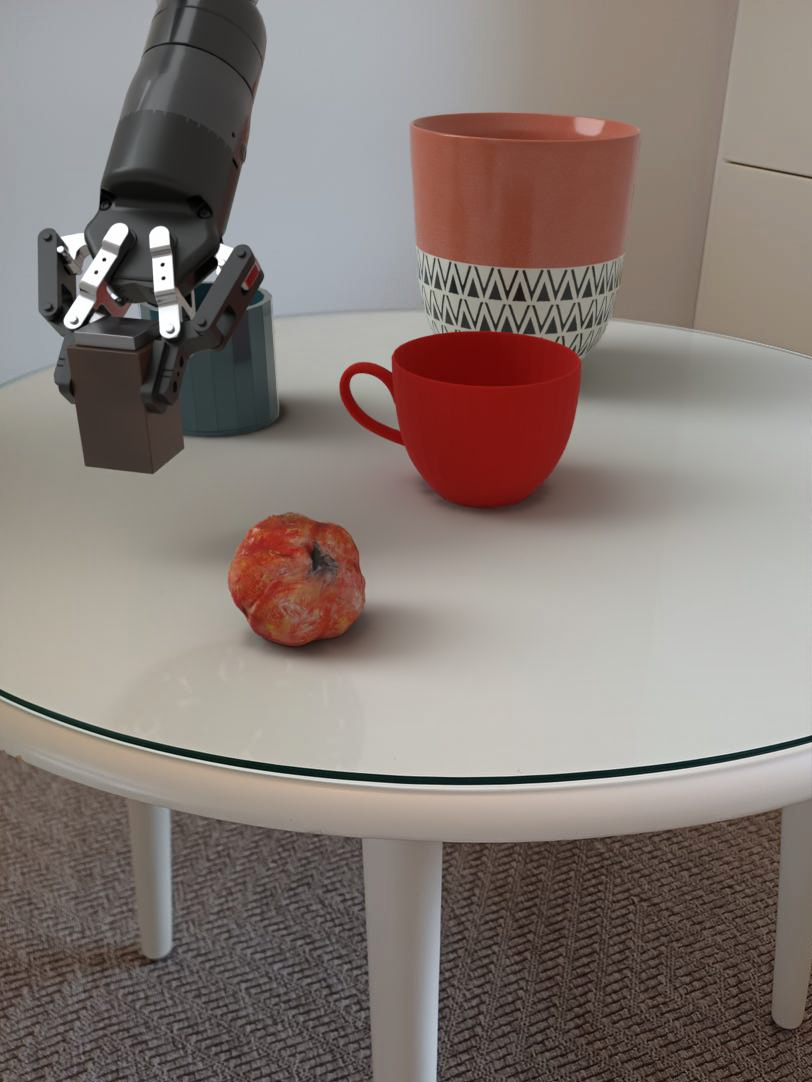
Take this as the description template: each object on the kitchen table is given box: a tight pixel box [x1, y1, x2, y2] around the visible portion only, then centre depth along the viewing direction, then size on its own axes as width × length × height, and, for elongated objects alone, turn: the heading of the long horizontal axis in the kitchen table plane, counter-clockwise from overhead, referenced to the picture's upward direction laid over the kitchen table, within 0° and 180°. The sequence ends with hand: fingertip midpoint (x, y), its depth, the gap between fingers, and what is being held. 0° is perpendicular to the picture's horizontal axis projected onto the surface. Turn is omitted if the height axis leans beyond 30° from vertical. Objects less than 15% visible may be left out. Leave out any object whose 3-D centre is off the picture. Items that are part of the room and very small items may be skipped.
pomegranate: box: [227, 511, 366, 647], centre depth 62 cm, size 7×7×10 cm
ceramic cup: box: [338, 331, 582, 509], centre depth 79 cm, size 13×17×10 cm
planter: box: [408, 111, 642, 361], centre depth 100 cm, size 20×20×21 cm
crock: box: [137, 280, 280, 438], centre depth 91 cm, size 10×10×10 cm
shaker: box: [66, 316, 185, 475], centre depth 66 cm, size 4×4×8 cm
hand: (112, 402), depth 65 cm, fingers closed on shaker, 4 cm apart
